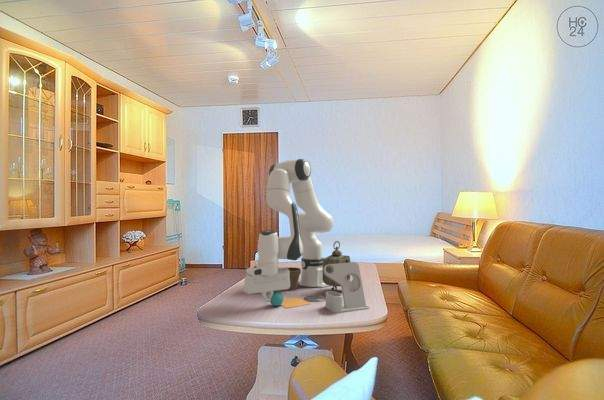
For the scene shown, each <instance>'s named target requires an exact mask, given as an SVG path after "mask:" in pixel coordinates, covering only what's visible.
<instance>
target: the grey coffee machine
mask: <svg viewBox="0 0 604 400" xmlns="http://www.w3.org/2000/svg"><path fill="white" fill-rule="evenodd" d="M326 267H330V268H331V273H328V272H327V271H326ZM324 274H325V275H326V276H327V277H329V278H330V279H332V280H334V281H335V282H337V283H338V284H340V285H341V293H339V292H338V293H337V292H336V290H334V291H332V290H327V291H325V298H326V299H325V305H324V307H325V308H326V309H328V311H330V312H332V313H334V314H340V313H346V312H355V311H354V310H356V311H362V310H361V309H364V310H369V309H368V308H370V309H371V306H370V305H368V304H367V303H366V298H365V293H364V288H363V287H364V286H363V281H362V276H361V271H360V265H359V263H357V262H353V261H352V262H351V261H350V263H337V264H328V265H326V266H324ZM348 275H350V277H352V279H351V280H350V281H348V280H347V276H348Z"/></svg>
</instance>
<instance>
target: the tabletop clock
mask: <svg viewBox="0 0 604 400" xmlns="http://www.w3.org/2000/svg"><path fill="white" fill-rule="evenodd" d="M336 243H338V244H339V245H338V246H336V247H335V245H336ZM340 247H341V243H340V241H338V240H336V241H334V243H333V249H334V250H333V251H332V253H331V254H330V255H328V256H326V257H323V258H324V259H323V268H322V273H323V282H324V283H325V284H326V285H330V286H332V287H331V289H330V291H335V292H337V293H339V291H338V287H341V285H340V284H338V283H337V282H335V281H334V280H332V279H330V278H329V277H327V276H326V275H325V274H324V266H326V265H328V264H337V263H351V258H350V256H349V255H343V253H342V251H341V250H340ZM326 271H327V272H328V273H331V268H330V267H326ZM347 280H348V281H351V275H348V276H347Z"/></svg>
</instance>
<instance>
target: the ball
mask: <svg viewBox="0 0 604 400" xmlns="http://www.w3.org/2000/svg"><path fill="white" fill-rule="evenodd" d="M283 299H284V295H283V294H282V293H281V292H280V291H278V290H276V291H274V293H273V295H272V297H271V302H269V303H270V304H271V305H272V306H273V307H279V306H281V304H282V302H283Z"/></svg>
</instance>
